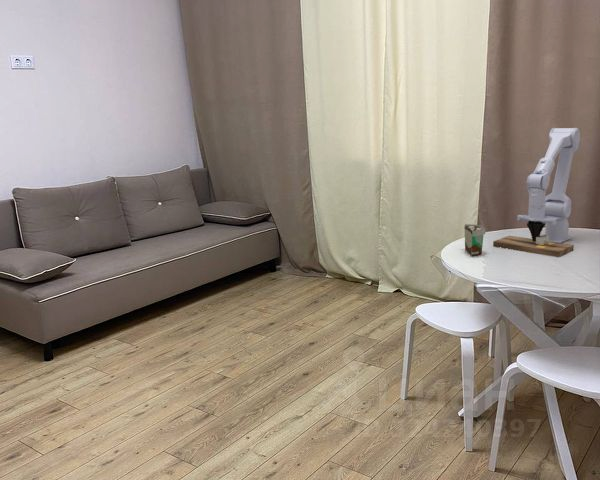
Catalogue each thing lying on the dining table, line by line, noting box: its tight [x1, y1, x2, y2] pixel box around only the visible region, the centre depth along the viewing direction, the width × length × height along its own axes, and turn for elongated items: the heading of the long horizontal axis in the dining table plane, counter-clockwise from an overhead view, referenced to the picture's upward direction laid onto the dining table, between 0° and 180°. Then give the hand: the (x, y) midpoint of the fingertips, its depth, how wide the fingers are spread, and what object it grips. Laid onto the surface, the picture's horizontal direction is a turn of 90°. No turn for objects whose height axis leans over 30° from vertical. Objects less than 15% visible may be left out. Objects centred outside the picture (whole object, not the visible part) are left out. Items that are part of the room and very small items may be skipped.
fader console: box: [492, 235, 575, 258], centre depth 227 cm, size 12×26×2 cm, turn 42°
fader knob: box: [536, 234, 549, 245], centre depth 224 cm, size 4×3×3 cm
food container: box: [463, 223, 486, 257], centre depth 224 cm, size 12×6×10 cm, turn 179°
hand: (535, 241), depth 226 cm, fingers closed
